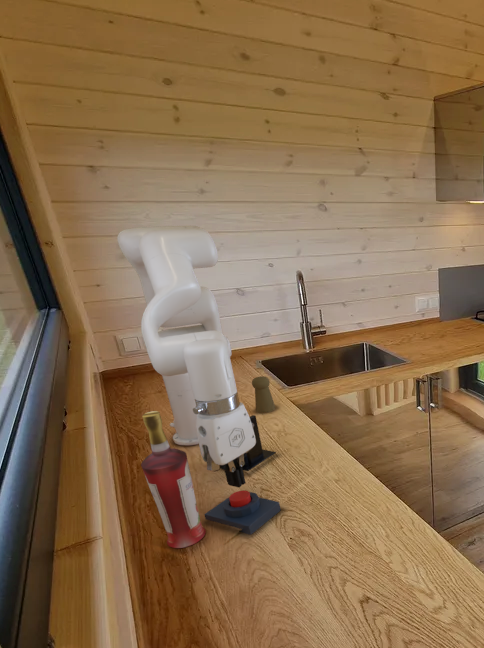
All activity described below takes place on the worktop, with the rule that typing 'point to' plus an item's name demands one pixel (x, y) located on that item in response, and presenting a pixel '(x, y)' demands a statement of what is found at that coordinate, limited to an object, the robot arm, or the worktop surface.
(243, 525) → the switch box
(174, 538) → the liquor
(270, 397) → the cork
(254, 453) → the switch bracket
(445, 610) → the worktop surface
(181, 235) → the robot arm
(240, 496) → the switch button
